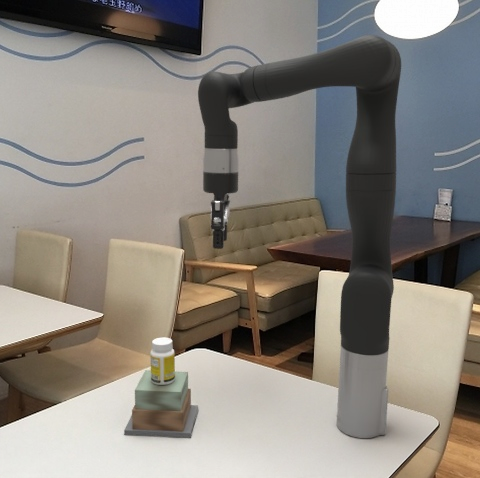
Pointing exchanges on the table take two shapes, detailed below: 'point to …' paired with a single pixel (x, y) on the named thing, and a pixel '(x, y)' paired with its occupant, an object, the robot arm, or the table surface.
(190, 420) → the baseplate
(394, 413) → the table surface
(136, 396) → the brick tower
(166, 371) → the supplement bottle
